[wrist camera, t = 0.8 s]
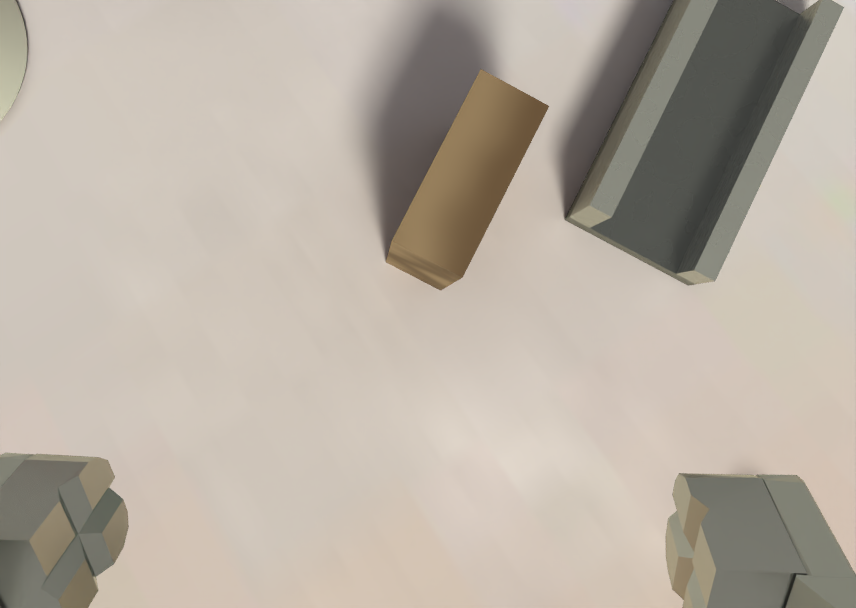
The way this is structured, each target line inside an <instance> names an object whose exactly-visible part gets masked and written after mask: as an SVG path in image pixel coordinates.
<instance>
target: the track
mask: <svg viewBox="0 0 856 608" xmlns="http://www.w3.org/2000/svg"><path fill="white" fill-rule="evenodd" d="M843 8H844V7H842V6H841V5H839V4H837V3H835V2H834V1H832V0H818V1H817V2H816V3H814V4H813V5H812V6H810V7H809V8H807V9H806V10H805V11H803V12H802V13H801V14H798V13H796V12H794V11H793V10H791V9H789V8H787V7H786V6H784V5H782V4H780V3H778V2H777V1H775V0H674V1H673V3H672V5H671V7H670V9H669V11H668V13H667V15H666V17H665V19H664V21H663V23H662V25H661V27H660V29H659V31H658V33H657V35H656V37H655V39H654V41H653V43H652V45H651V47H650V49H649V51H648V53H647V55H646V57H645V59H644V61H643V63H642V65H641V67H640V69H639V71H638V73H637V75H636V77H635V79H634V81H633V83H632V85H631V87H630V89H629V91H628V93H627V96H626V98H625V100H624V102H623V104H622V106H621V108H620V110H619V112H618V114H617V116H616V118H615V120H614V122H613V124H612V126H611V128H610V130H609V132H608V134H607V136H606V138H605V140H604V142H603V144H602V146H601V148H600V150H599V152H598V154H597V156H596V158H595V160H594V162H593V164H592V166H591V168H590V170H589V172H588V174H587V176H586V178H585V180H584V182H583V184H582V186H581V188H580V190H579V192H578V194H577V196H576V198H575V200H574V202H573V204H572V206H571V208H570V211H569V213H568V215H567V217H566V219H565V220H566V221H568V222H570V223H572V224H574V225H575V226H577V227H579V228H581V229H583V230H585V231H587V232H589V233H591V234H592V235H594V236H596V237H598V238H600V239H602V240H604V241H606V242H607V243H609V244H611V245H613V246H615V247H617V248H619V249H621V250H623V251H624V252H626V253H628V254H630V255H632V256H634V257H636V258H638V259H639V260H641V261H643V262H645V263H647V264H649V265H651V266H653V267H655V268H656V269H658V270H660V271H662V272H664V273H666V274H668V275H670V276H671V277H673V278H675V279H677V280H679V281H681V282H683V283H685V284H687V285H694V284H701V283H707V282H714V281H715V280H716V278H717V276H718V274H719V272H720V270H721V268H722V265H723V263H724V261H725V259H726V257H727V255H728V253H729V251H730V248H731V246H732V244H733V242H734V240H735V238H736V236H737V234H738V231H739V229H740V227H741V225H742V223H743V221H744V219H745V217H746V214H747V212H748V210H749V208H750V206H751V204H752V202H753V200H754V197H755V195H756V193H757V191H758V189H759V187H760V185H761V183H762V180H763V178H764V176H765V174H766V172H767V170H768V168H769V166H770V163H771V161H772V159H773V157H774V155H775V153H776V151H777V149H778V146H779V144H780V142H781V140H782V138H783V136H784V134H785V132H786V129H787V127H788V125H789V123H790V121H791V119H792V117H793V115H794V112H795V110H796V108H797V106H798V104H799V102H800V100H801V98H802V95H803V93H804V91H805V89H806V87H807V85H808V83H809V81H810V78H811V76H812V74H813V72H814V70H815V68H816V66H817V64H818V61H819V59H820V57H821V55H822V53H823V51H824V49H825V47H826V44H827V42H828V40H829V38H830V36H831V34H832V32H833V30H834V27H835V25H836V23H837V21H838V19H839V17H840V15H841V13H842V10H843Z"/></svg>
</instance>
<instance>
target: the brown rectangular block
mask: <svg viewBox="0 0 856 608" xmlns="http://www.w3.org/2000/svg"><path fill="white" fill-rule="evenodd" d="M548 107H549V106H548V105H546V104H544V103H542V102H541V101H539V100H537V99H535V98H533V97H531V96H530V95H528V94H526V93H524V92H522V91H520V90H518V89H517V88H515V87H513V86H511V85H509V84H507V83H506V82H504V81H502V80H500V79H498V78H496V77H494V76H493V75H491V74H489V73H487V72H485V71H483V70H482V69H481V70H480V72H479V74H478V75H477V77H476V79H475V81H474V83H473V85H472V87H471V89H470V91H469V93H468V95H467V97H466V99H465V101H464V102H463V104H462V106H461V108H460V110H459V112H458V114H457V116H456V118H455V120H454V122H453V124H452V126H451V128H450V129H449V131H448V133H447V135H446V137H445V139H444V141H443V143H442V145H441V147H440V149H439V151H438V153H437V155H436V156H435V158H434V160H433V162H432V164H431V166H430V168H429V170H428V172H427V174H426V176H425V178H424V180H423V182H422V183H421V185H420V187H419V189H418V191H417V193H416V195H415V197H414V199H413V201H412V203H411V205H410V207H409V209H408V211H407V212H406V214H405V216H404V218H403V220H402V222H401V224H400V226H399V228H398V230H397V232H396V234H395V236H394V238H393V239H392V242H391V245H390V249H389V253H388V256H387V260H386V262H387V263H389V264H391V265H392V266H394V267H396V268H398V269H400V270H402V271H404V272H406V273H408V274H410V275H412V276H414V277H416V278H418V279H420V280H421V281H423V282H425V283H427V284H429V285H431V286H433V287H435V288H437V289H439V290H442V289H444V288H445V287H447V286H449V285H451V284H452V283H454V282H456V281H457V280H459V279H461V278H462V277H463V275H464V273H465V271H466V269H467V267H468V265H469V264H470V262H471V260H472V258H473V256H474V254H475V252H476V250H477V248H478V246H479V244H480V242H481V240H482V238H483V236H484V234H485V232H486V230H487V228H488V226H489V224H490V222H491V220H492V218H493V216H494V214H495V212H496V210H497V208H498V206H499V204H500V202H501V200H502V198H503V196H504V194H505V192H506V190H507V188H508V186H509V184H510V182H511V180H512V179H513V177H514V175H515V173H516V171H517V169H518V167H519V165H520V163H521V161H522V159H523V157H524V155H525V153H526V151H527V149H528V147H529V145H530V143H531V141H532V139H533V137H534V135H535V133H536V131H537V129H538V127H539V125H540V123H541V121H542V119H543V117H544V115H545V113H546V111H547V109H548Z"/></svg>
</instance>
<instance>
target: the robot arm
mask: <svg viewBox="0 0 856 608" xmlns="http://www.w3.org/2000/svg"><path fill="white" fill-rule="evenodd" d="M26 62H27V37H26V30H25V26H24V21H23V18H22V15H21V12H20V10H19V7H18V5H17V3H16V1H15V0H0V121H1V120H2V119H3V117H4V116H5V115H6V113H7V112H8V110H9V109H10V107H11V106H12V104H13V102H14V100H15V98H16V96H17V94H18V92H19V90H20V87H21V84H22V81H23V77H24V74H25V68H26ZM114 478H115V476H114V473H113V471H112V469H111V466H110V464H109V462H108V460H106V459H102V458H99V457H86V456H68V455H49V454H35V455H34V454H18V453H4V454H2V455H0V608H88V607H89V605H90V603H91V602H92V600H93V598H94V597H95V595H96V593H97V592H98V585H97V579H96V576H98V575H99V574H100V573H102V572H103V571H105V570H106V569H107V568H109V567H110V566H112V565H113V564H114V563H115V561H116V559H117V558H118V556H119V554H120V552H121V551H122V549H123V547H124V543H125V539H126V535H127V531H128V527H129V526H128V511H127V509H126V506H125V503H124V500H123V499H122V498H121V497H120V496H119V495H117V494H116V493H115V492H114V491H113V490H111V489H110V488H109V487H110V485H111V484H112V482H113V480H114ZM672 495H673V499H674V502H675V505H676V509H677V511H676V512H675V513H674V514H673V515H672V516H670V517H669V518H668V522H667V530H666V561H667V567H668V573H669V577H670V582H671V586H672V589H673V590H674V591H675V592H676V593H677V594H678V595H679V596H680V597H681V598H682V599H683V600H684V602H683V607H682V608H856V574H855V573H854V571H853V569H852V567H851V565H850V563H849V562H848V560H847V558H846V556H845V554H844V553H843V551H842V549H841V547H840V545H839V544H838V542H837V540H836V538H835V536H834V535H833V533H832V531H831V529H830V527H829V526H828V524H827V522H826V520H825V518H824V517H823V515H822V513H821V511H820V509H819V507H818V506H817V504H816V502H815V500H814V498H813V497H812V495H811V493H810V491H809V489H808V488H807V486H806V484H805V482H804V481H803V480H802V479H801V478H800V477H798V476H797V475H756V476H754V475H736V474H687V473H679V474H678V476H677V478H676V480H675V484H674V489H673V494H672Z"/></svg>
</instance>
